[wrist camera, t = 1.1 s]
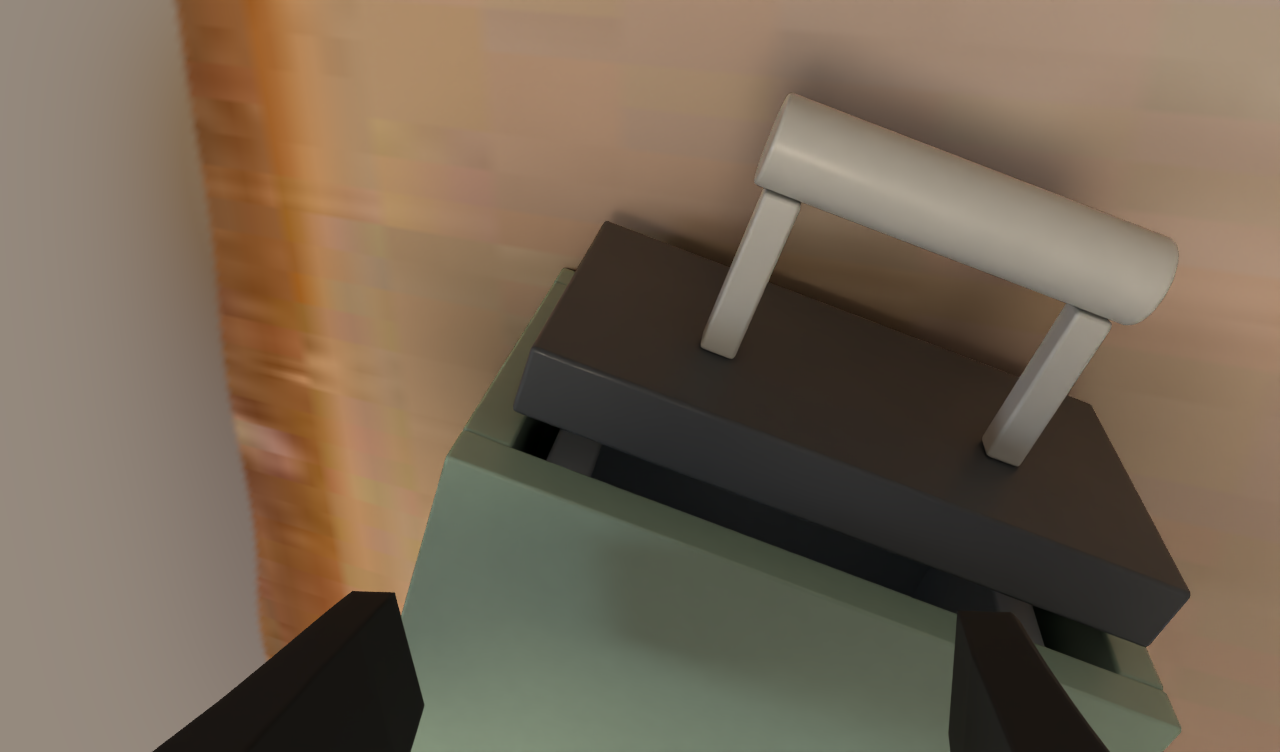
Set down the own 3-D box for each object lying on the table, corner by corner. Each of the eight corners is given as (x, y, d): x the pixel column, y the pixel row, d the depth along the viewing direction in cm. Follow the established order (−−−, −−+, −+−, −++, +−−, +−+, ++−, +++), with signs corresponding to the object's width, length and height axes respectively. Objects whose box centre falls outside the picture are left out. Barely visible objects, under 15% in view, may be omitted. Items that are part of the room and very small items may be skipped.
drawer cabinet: (563, 265, 20) (445, 456, 14) (1064, 455, 21) (1184, 731, 14) (430, 682, 27) (307, 946, 20) (811, 822, 27) (811, 1127, 21)
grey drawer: (676, 5, 17) (619, 63, 12) (1221, 215, 17) (1396, 360, 12) (462, 645, 25) (374, 843, 20) (832, 782, 25) (838, 1012, 20)
